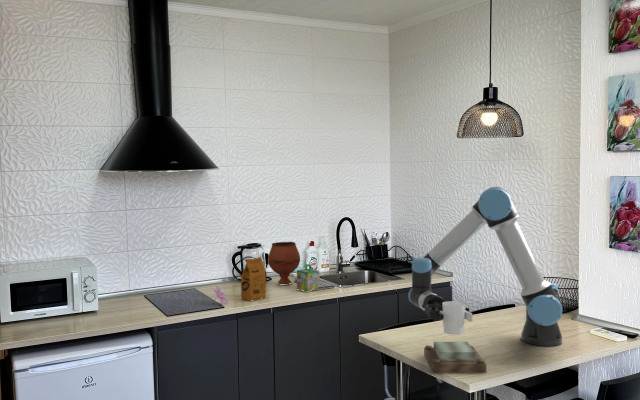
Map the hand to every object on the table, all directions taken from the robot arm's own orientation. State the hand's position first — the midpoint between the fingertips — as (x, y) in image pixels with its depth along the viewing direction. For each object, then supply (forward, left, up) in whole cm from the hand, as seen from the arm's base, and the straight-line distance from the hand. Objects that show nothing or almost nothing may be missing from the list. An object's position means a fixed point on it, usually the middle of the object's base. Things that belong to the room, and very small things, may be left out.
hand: (460, 318), depth 197 cm
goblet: (+73, -149, -17) cm, 167 cm away
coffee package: (+86, -110, -17) cm, 141 cm away
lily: (+102, -97, -17) cm, 142 cm away
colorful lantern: (+58, -131, -17) cm, 144 cm away
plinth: (+1, -5, -17) cm, 18 cm away
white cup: (+1, -5, -6) cm, 8 cm away
